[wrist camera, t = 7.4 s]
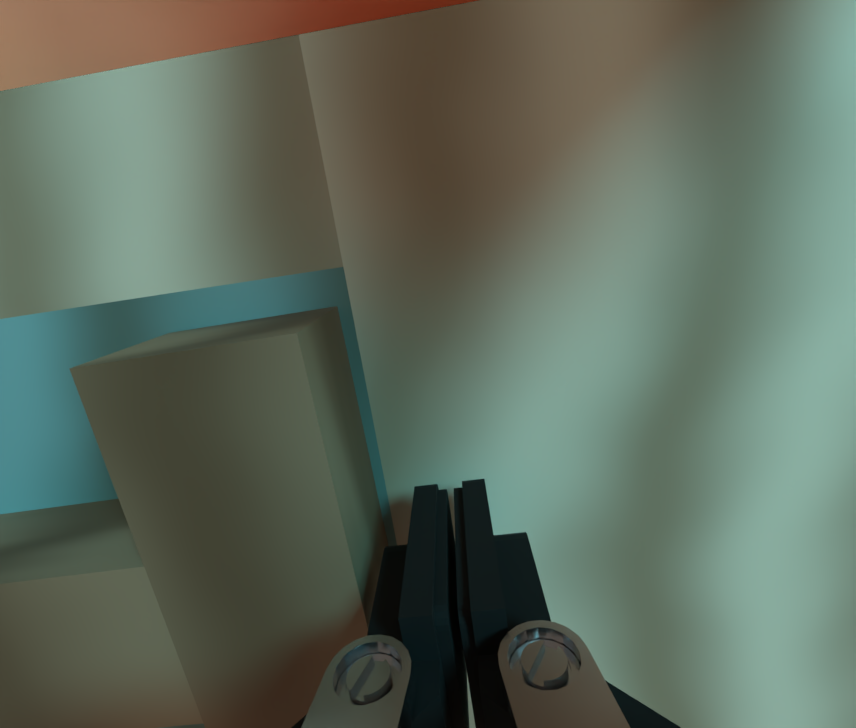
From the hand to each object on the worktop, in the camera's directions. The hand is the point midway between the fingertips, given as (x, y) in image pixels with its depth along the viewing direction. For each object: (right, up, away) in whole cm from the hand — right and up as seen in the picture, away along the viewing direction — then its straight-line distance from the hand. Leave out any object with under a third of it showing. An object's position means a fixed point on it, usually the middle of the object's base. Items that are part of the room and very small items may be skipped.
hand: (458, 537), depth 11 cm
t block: (-8, -1, +2) cm, 8 cm away
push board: (-2, 0, +2) cm, 3 cm away
